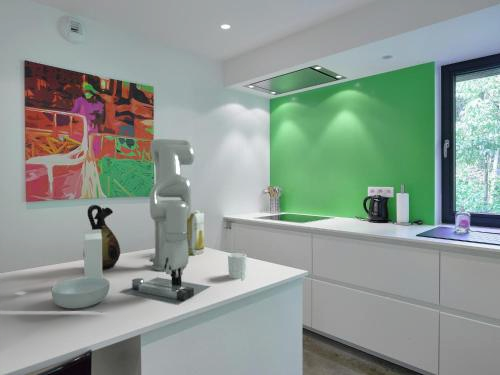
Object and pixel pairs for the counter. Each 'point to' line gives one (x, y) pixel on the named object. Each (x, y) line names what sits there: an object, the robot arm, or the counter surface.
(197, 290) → the slate board
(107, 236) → the ceramic jug
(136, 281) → the moving tong arm
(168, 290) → the bar
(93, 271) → the milk
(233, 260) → the white cup
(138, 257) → the counter surface
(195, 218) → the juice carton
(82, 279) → the cereal bowl
